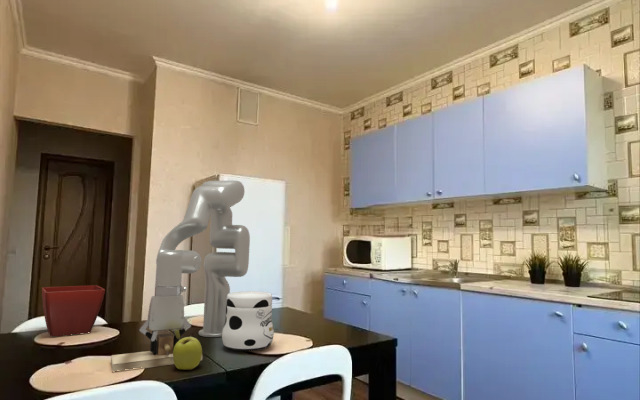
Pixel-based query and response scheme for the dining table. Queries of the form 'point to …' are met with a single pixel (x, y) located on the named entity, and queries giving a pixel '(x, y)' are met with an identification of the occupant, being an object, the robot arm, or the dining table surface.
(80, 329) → the plant pot
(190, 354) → the apple
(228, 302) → the milk container
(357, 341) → the dining table surface
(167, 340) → the mallet
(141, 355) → the board
